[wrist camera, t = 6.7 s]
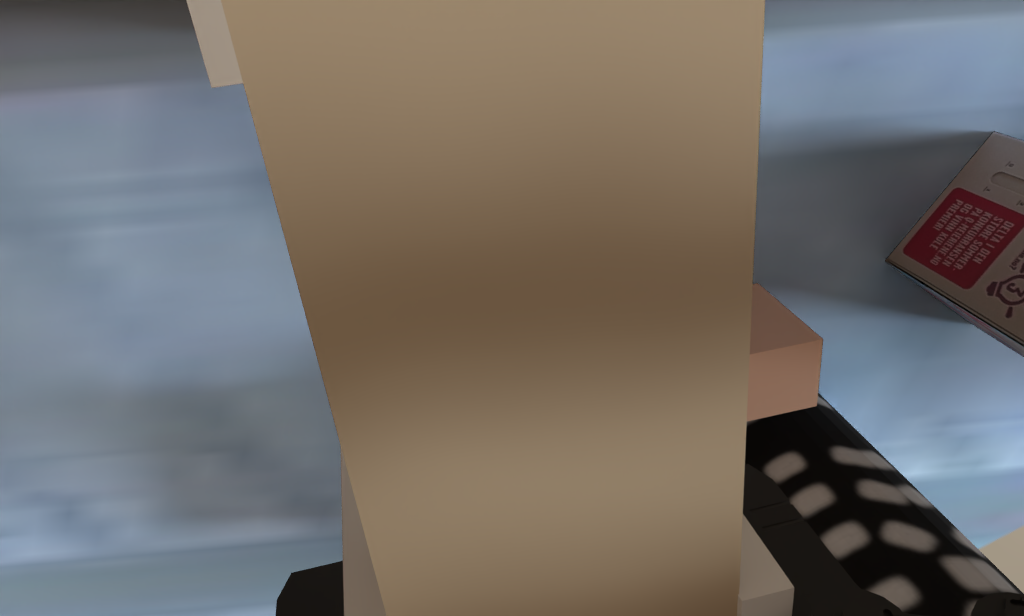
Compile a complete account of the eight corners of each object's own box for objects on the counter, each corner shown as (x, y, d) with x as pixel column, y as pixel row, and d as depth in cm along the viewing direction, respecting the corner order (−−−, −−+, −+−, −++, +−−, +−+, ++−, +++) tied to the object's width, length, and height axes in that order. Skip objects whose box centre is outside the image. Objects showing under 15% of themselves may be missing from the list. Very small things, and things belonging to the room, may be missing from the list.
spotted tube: (802, 343, 34) (1284, 779, 17) (849, 463, 38) (1278, 916, 21) (641, 435, 35) (947, 951, 17) (704, 543, 39) (1004, 1052, 21)
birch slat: (238, -93, 8) (194, -100, 6) (640, -141, 9) (772, -167, 6) (479, 888, 17) (505, 1058, 15) (665, 833, 18) (721, 986, 15)
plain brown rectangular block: (598, -209, 23) (658, -239, 19) (781, -228, 24) (879, -262, 20) (625, 370, 33) (669, 438, 29) (754, 343, 34) (816, 406, 29)
